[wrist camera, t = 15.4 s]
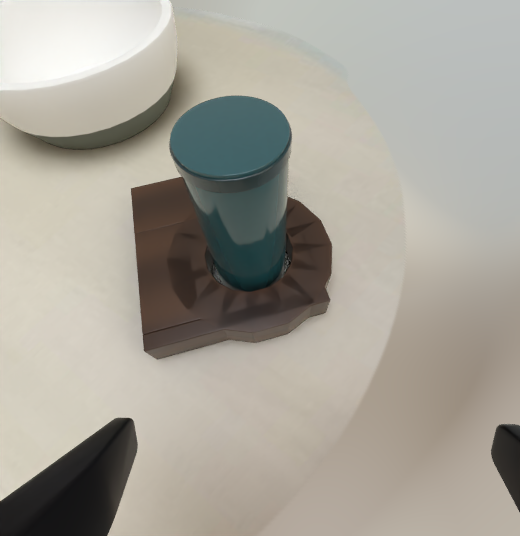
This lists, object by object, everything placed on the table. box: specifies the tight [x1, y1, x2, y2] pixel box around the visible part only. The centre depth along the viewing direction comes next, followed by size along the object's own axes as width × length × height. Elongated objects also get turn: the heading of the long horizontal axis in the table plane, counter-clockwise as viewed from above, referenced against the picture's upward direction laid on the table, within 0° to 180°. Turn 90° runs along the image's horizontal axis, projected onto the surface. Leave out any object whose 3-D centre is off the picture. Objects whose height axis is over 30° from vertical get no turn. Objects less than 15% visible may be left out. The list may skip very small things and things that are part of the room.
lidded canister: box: [169, 96, 292, 292], centre depth 20 cm, size 6×6×13 cm
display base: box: [131, 177, 332, 359], centre depth 25 cm, size 16×15×2 cm
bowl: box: [0, 0, 178, 149], centre depth 34 cm, size 22×22×8 cm
